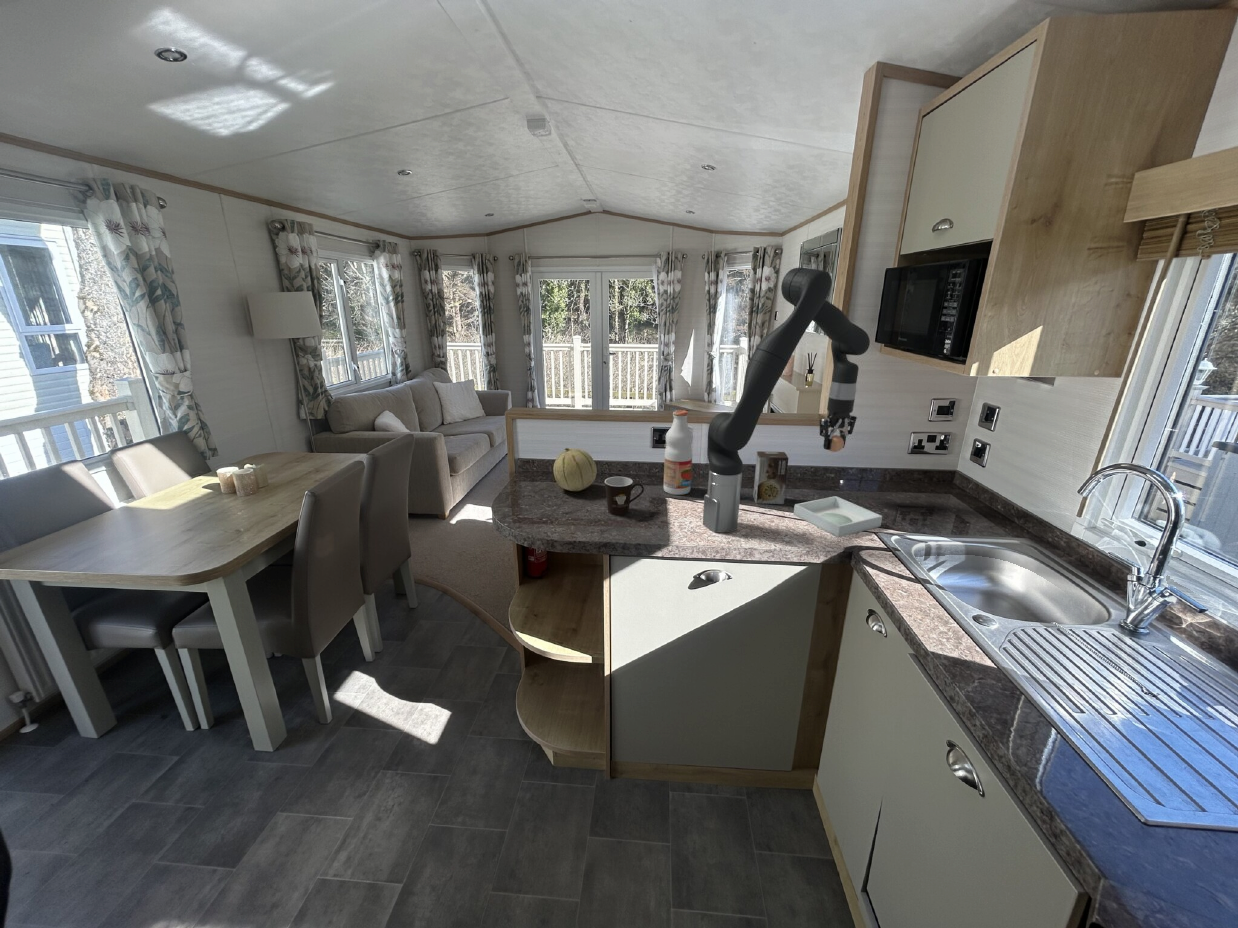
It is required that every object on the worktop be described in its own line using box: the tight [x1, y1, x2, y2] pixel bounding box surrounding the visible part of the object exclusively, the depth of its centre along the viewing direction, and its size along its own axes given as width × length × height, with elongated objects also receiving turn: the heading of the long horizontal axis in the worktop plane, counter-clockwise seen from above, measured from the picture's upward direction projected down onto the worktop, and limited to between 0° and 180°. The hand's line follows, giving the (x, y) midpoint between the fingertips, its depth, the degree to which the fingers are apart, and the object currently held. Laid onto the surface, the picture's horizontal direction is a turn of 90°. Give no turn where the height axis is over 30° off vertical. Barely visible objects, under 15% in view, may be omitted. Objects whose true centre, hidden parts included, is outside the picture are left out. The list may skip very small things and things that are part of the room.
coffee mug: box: [604, 476, 645, 516], centre depth 154 cm, size 12×9×10 cm
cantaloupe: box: [552, 447, 598, 492], centre depth 171 cm, size 15×15×15 cm
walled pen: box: [793, 495, 883, 538], centre depth 150 cm, size 17×17×3 cm
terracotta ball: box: [828, 434, 845, 453], centre depth 161 cm, size 6×6×6 cm
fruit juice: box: [663, 409, 694, 496], centre depth 169 cm, size 9×9×28 cm
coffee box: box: [752, 450, 789, 505], centre depth 163 cm, size 9×6×16 cm
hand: (833, 448), depth 161 cm, fingers closed on terracotta ball, 5 cm apart
